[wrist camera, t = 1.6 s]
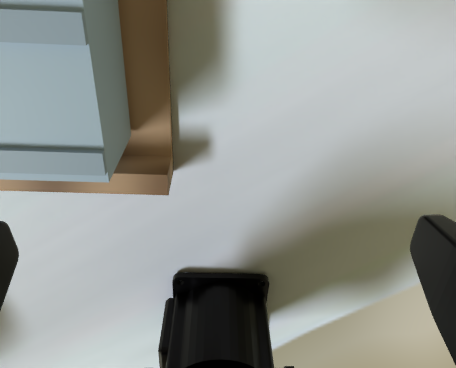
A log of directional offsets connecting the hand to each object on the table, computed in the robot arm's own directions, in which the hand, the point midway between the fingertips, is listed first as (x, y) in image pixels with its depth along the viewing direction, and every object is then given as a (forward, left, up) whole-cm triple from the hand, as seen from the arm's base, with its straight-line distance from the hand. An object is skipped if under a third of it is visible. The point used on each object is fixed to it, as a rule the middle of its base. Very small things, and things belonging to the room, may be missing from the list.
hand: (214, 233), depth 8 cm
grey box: (+8, 0, -11) cm, 14 cm away
